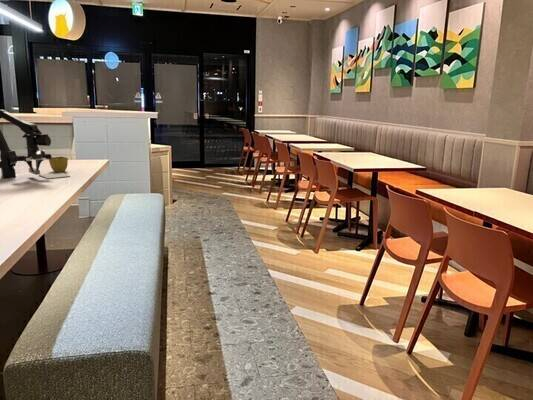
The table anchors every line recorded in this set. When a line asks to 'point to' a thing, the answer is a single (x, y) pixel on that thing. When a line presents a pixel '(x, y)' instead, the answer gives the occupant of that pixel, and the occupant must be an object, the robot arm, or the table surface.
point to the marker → (34, 171)
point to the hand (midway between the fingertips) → (34, 171)
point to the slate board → (54, 175)
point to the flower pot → (58, 163)
